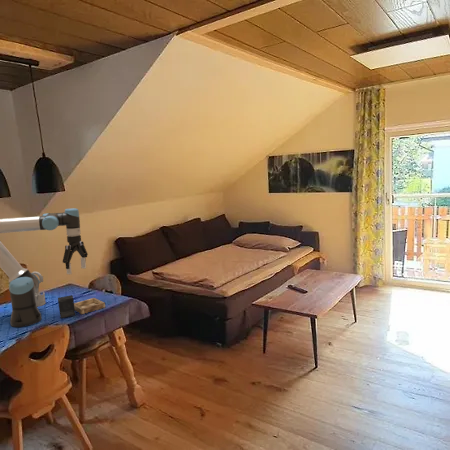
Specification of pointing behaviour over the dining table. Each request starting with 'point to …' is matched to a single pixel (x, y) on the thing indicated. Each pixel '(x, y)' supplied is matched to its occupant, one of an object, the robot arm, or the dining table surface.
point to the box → (66, 306)
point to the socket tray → (89, 305)
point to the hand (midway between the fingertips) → (76, 271)
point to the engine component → (39, 298)
